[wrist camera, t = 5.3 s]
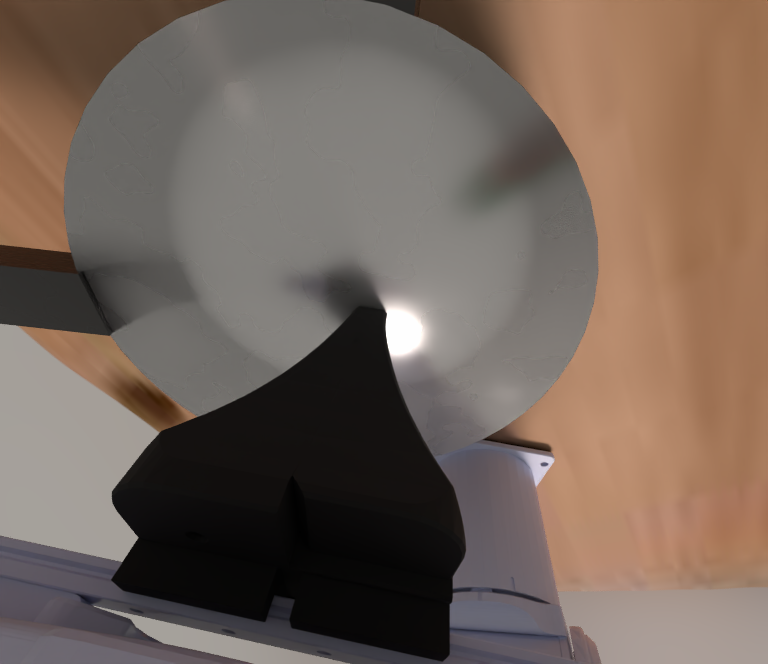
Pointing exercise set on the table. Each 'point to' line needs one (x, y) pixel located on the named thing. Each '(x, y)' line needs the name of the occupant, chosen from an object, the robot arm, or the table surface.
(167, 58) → the lid
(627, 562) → the table surface
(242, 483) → the robot arm
